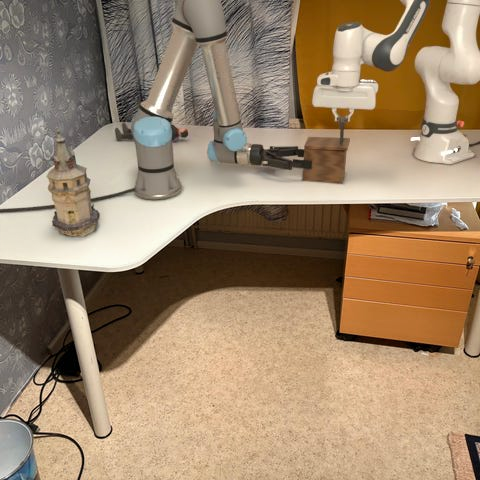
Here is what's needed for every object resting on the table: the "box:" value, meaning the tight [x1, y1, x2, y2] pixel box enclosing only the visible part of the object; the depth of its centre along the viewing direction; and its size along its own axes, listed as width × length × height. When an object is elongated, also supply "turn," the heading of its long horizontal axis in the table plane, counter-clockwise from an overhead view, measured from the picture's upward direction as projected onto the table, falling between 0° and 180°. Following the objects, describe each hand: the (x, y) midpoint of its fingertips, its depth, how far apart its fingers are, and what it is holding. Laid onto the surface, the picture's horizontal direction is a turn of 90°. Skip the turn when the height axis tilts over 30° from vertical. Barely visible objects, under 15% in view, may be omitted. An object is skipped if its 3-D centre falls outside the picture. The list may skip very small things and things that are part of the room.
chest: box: [302, 148, 348, 185], centre depth 184 cm, size 14×10×11 cm
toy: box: [114, 121, 189, 142], centre depth 223 cm, size 26×6×30 cm
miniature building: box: [46, 129, 101, 237], centre depth 148 cm, size 13×14×30 cm
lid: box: [303, 115, 351, 151], centre depth 179 cm, size 14×10×9 cm
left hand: (313, 159), depth 185 cm, fingers closed on chest, 10 cm apart
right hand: (342, 121), depth 176 cm, fingers closed on lid, 2 cm apart
